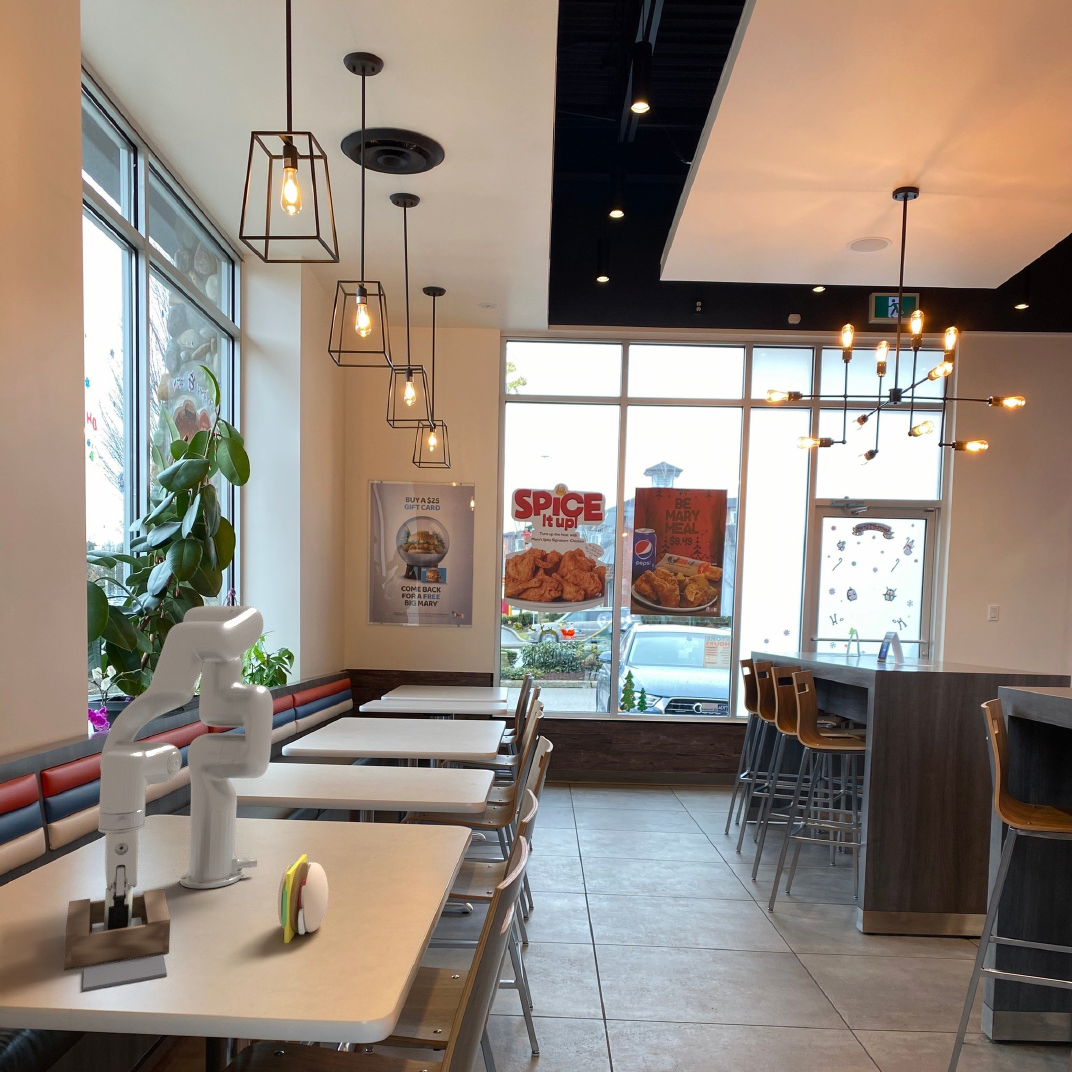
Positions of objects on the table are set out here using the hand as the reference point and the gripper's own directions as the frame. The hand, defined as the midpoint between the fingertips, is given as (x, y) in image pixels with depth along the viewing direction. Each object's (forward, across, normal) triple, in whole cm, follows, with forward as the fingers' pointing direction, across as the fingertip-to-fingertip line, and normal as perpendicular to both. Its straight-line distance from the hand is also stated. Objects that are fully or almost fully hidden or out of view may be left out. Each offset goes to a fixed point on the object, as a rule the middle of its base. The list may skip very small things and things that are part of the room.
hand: (117, 923), depth 151 cm
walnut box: (+3, 0, 0) cm, 3 cm away
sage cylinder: (+1, 0, 0) cm, 1 cm away
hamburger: (+4, -9, -31) cm, 32 cm away
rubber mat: (+3, -15, -1) cm, 15 cm away
